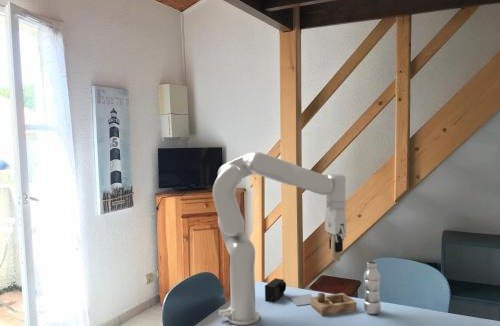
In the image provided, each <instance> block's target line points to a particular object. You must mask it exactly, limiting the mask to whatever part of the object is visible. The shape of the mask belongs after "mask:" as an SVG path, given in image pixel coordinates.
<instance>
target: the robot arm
mask: <svg viewBox="0 0 500 326" xmlns="http://www.w3.org/2000/svg"><path fill="white" fill-rule="evenodd" d="M253 174H255V175H257V176H260V177H264V178H267V179H270V180H272V181H276V182H278V183H281V184H284V185H287V186H292V187H296V188H297V187H298V188H301V189H303V190H306V191H310V192H312V193H314V194H318V195H321V196H325V195H326V197H325V198H326V199H325V200H326V208H325V209H326V210H325V216H324V217H325V218H324V230H325V232H327V234H328V241H329V242H328V243H329V246H328V247H329V249H330V250H331V238H332V234H333V235H335V238H336V242H335V252H341V253H343V251H344V247H343V246H344V244H343V243H344V240H345V239H346V237H347V235H346V233H347V216H346V203H347V202H346V197H347V196H346V187H347V185H346V183H347V182H346V176H345V175H344V174H338V173H336V174H332V173H331V174H323V173H319V172H316V171H314V170H311V169H308V168H305V167H302V166H299V165H297V164H295V163H293V162H289V161H287V160H284V159H280V158H277V157H276V156H275V157H274V156H272V155H269V154H267V153H263V152H259V151H251V152H249V153H246V154H244V155H242V156H240V157H237V158H235V159H233V160H230V161H228V162H225V163H223V164H222V165H221V166H220V167H219V168H218V170H217V177H216V179H215V180H214V183H213V186H212V201H213V203H214V206H215V210H216V213H217V224H218V228H219V230H220V231H219V232H220V235H221V237H222V239H223V242H224V245H225V248H226V250H227V252H228V254H229V283H230V284H229V287H230V289H229V290H230V305H228V308H226V309H219V310H218V316H220V317H221V316H223V318H226V320H227V321H228V322H229V324H230V323H231V324H232V325H236V326H238V325H239V326H247V325H248V326H249V325H252V324H255V323H257V322H259V320H260V317H261V316H260V313H259V312H258V311H256V281H255V280H256V279H255V267H256V266H255V264H256V249H255V245H254V243H253V242H252V241H251V240H250V239H249V237H248V236H247V233H246V229H245V219H244V217H243V214H242V212H241V209H240V207H239V203H238V200H237V197H236V190H237V187H238V186H239V184H241V183H242V179H245V178H247V177H249V176H251V175H253ZM328 224H331V226H330V227H328ZM339 232H340V234H338V233H339ZM338 236H339V237H338Z"/></svg>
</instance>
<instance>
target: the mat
mask: <svg viewBox="0 0 500 326" xmlns="http://www.w3.org/2000/svg"><path fill="white" fill-rule="evenodd" d="M311 297H314V295H312V294H311V293H306V294H305V293H304V294H299V295H292V296H291V295H290V296H288V298H289V300H290V301H292V303H294V305H296V306H297V307H301V306H309V305H310V306H311Z"/></svg>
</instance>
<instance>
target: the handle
mask: <svg viewBox="0 0 500 326" xmlns="http://www.w3.org/2000/svg"><path fill="white" fill-rule="evenodd" d="M330 226H331V224H328V227H330ZM338 234H341V233H340V232H339V233H338ZM338 237H339V236H338ZM335 242H336V238H335V235H333V234H332V238H331V249H330V252H331V253H330V254H331V260H332V261H335V262H339V261H340V260H341V255H342V254H341V253H342V252H335Z"/></svg>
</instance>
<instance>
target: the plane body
mask: <svg viewBox="0 0 500 326" xmlns="http://www.w3.org/2000/svg"><path fill="white" fill-rule="evenodd" d="M310 306H311V308H313V309H314V310H315V311H316V312H317V313H318V314H319V315H320V316H322V317H325V316H331V315H339V314H345V313H352V312H356V311H357V301H355V300H354V299H353V298H351V297H350V296H348V295H347V294H345V293H344V292H341V293H335V294H334V293H333V294H326V295H325V293H324V292H318V293H317V296H313V297H311V304H310Z"/></svg>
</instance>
